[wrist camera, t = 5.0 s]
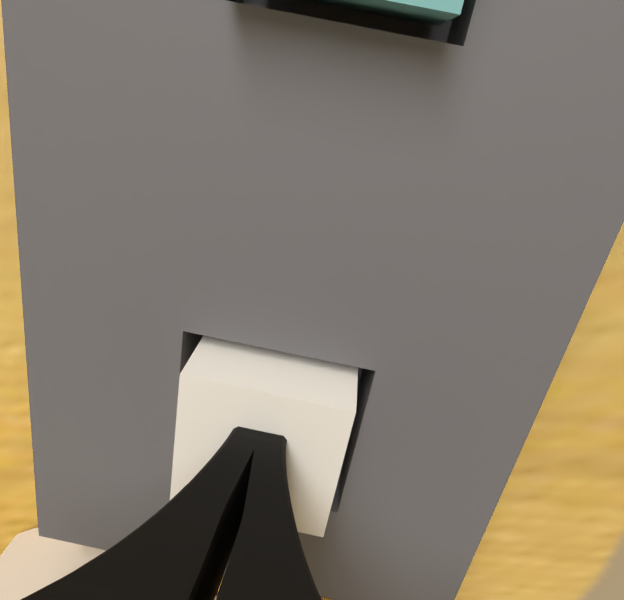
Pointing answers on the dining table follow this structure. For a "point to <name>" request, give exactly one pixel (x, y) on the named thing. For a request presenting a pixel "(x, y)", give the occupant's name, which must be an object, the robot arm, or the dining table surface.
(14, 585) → the milk carton
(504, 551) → the dining table surface
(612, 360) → the dining table surface
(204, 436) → the white key
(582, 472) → the dining table surface
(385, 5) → the teal key
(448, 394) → the panel
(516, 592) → the dining table surface
